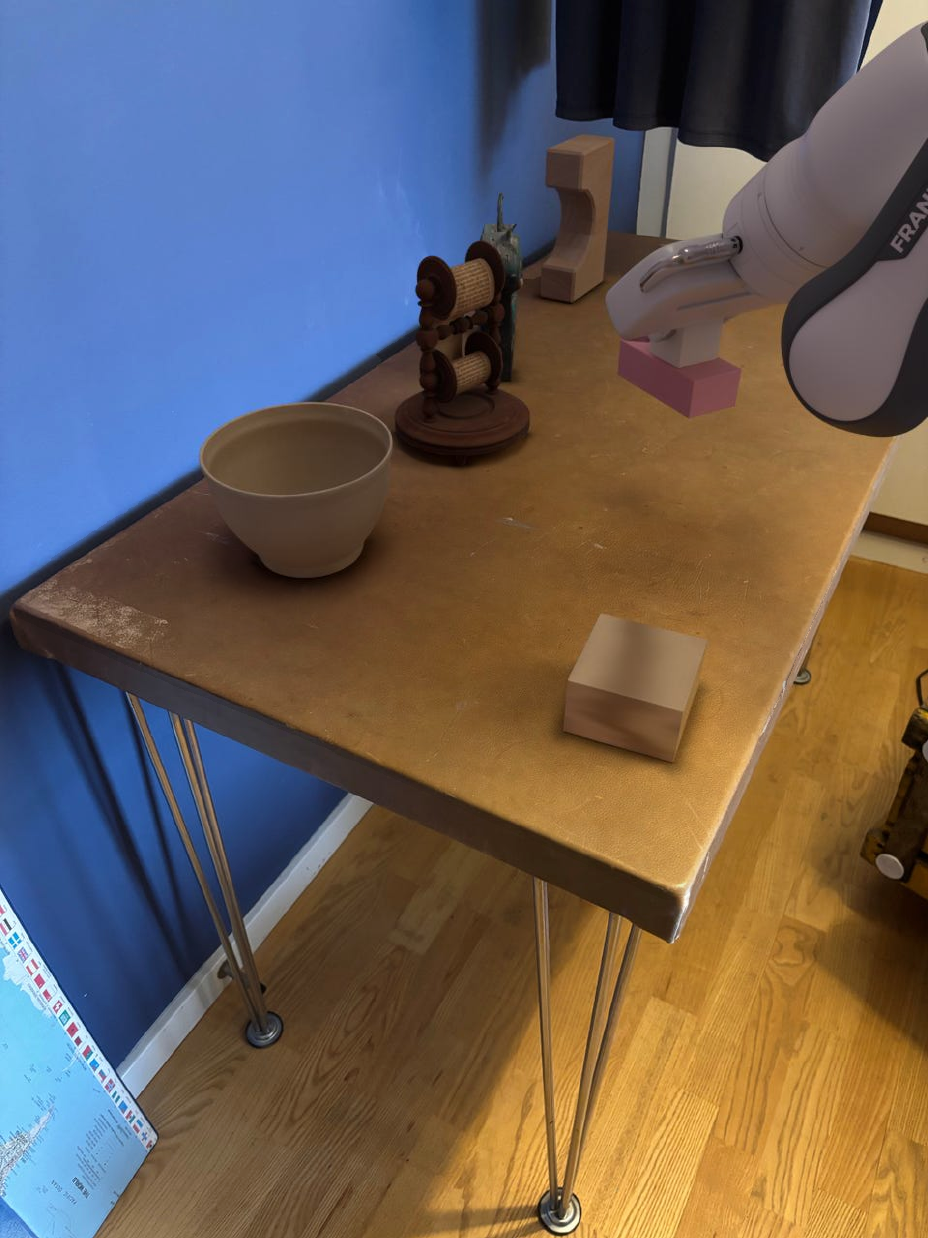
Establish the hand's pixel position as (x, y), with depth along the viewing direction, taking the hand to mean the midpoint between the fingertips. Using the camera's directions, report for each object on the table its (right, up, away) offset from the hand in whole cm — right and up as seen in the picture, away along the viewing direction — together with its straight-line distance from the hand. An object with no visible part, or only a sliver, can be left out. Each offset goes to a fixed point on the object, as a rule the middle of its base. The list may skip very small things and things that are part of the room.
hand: (681, 326), depth 74 cm
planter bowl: (-32, -18, +9) cm, 38 cm away
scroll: (-18, -4, +27) cm, 32 cm away
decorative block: (-2, +25, +63) cm, 68 cm away
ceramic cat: (-14, +10, +44) cm, 47 cm away
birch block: (-5, -31, -7) cm, 32 cm away
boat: (0, -4, +3) cm, 5 cm away
